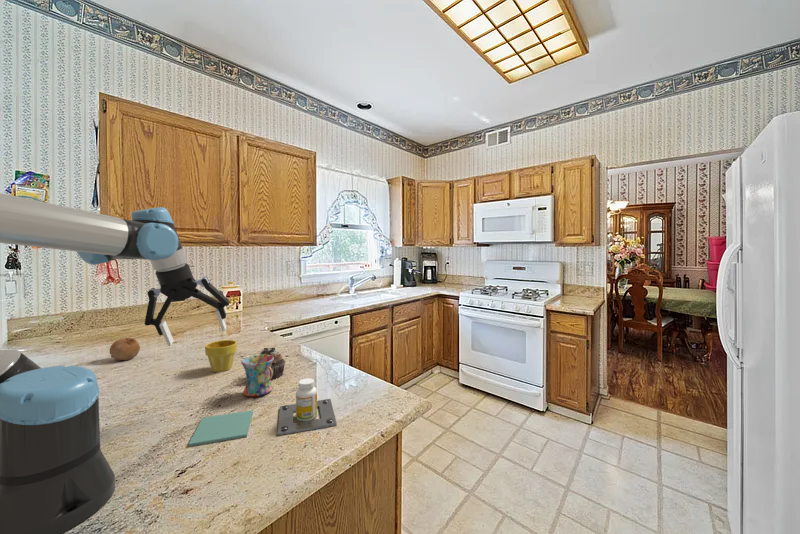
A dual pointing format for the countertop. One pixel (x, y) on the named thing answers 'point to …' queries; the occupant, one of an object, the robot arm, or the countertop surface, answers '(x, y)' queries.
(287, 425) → the flange plate
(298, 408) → the supplement bottle
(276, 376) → the cupcake
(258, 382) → the mug
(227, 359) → the plant pot
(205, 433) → the mat
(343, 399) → the countertop surface
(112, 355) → the brown oval lump
